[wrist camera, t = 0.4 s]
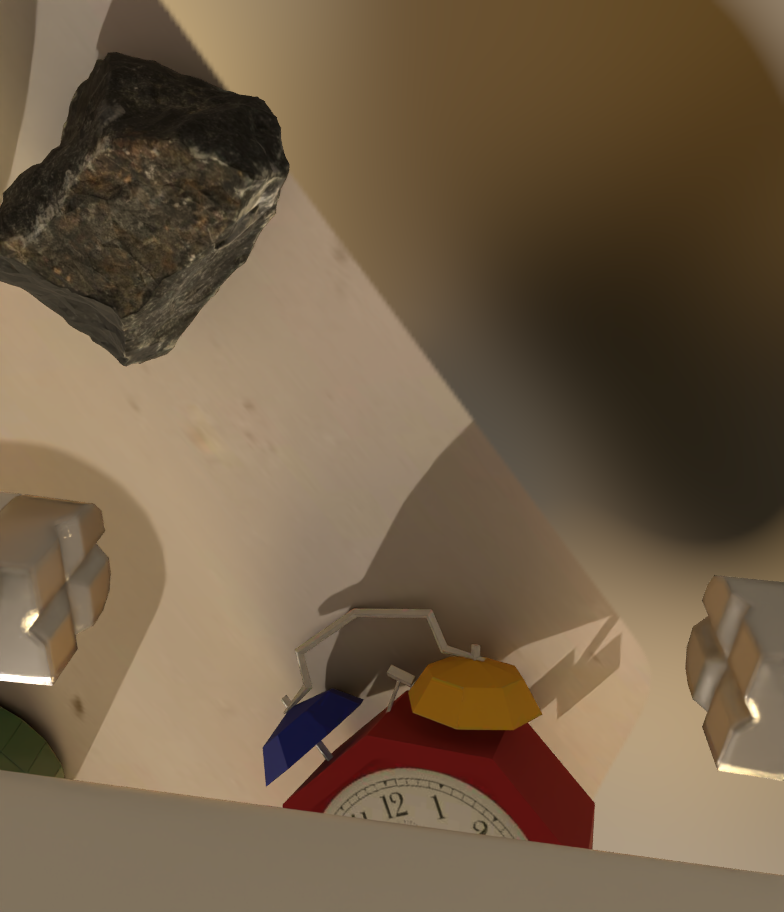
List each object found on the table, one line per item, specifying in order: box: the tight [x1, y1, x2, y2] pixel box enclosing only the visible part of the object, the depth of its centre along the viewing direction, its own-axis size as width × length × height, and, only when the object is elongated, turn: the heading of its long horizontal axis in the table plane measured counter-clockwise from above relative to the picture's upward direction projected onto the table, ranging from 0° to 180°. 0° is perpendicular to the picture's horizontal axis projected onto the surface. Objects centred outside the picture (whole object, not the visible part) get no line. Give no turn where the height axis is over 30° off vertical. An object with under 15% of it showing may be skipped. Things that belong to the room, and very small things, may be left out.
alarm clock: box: [263, 608, 595, 849], centre depth 36 cm, size 15×9×20 cm
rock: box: [0, 52, 289, 366], centre depth 25 cm, size 8×7×10 cm
